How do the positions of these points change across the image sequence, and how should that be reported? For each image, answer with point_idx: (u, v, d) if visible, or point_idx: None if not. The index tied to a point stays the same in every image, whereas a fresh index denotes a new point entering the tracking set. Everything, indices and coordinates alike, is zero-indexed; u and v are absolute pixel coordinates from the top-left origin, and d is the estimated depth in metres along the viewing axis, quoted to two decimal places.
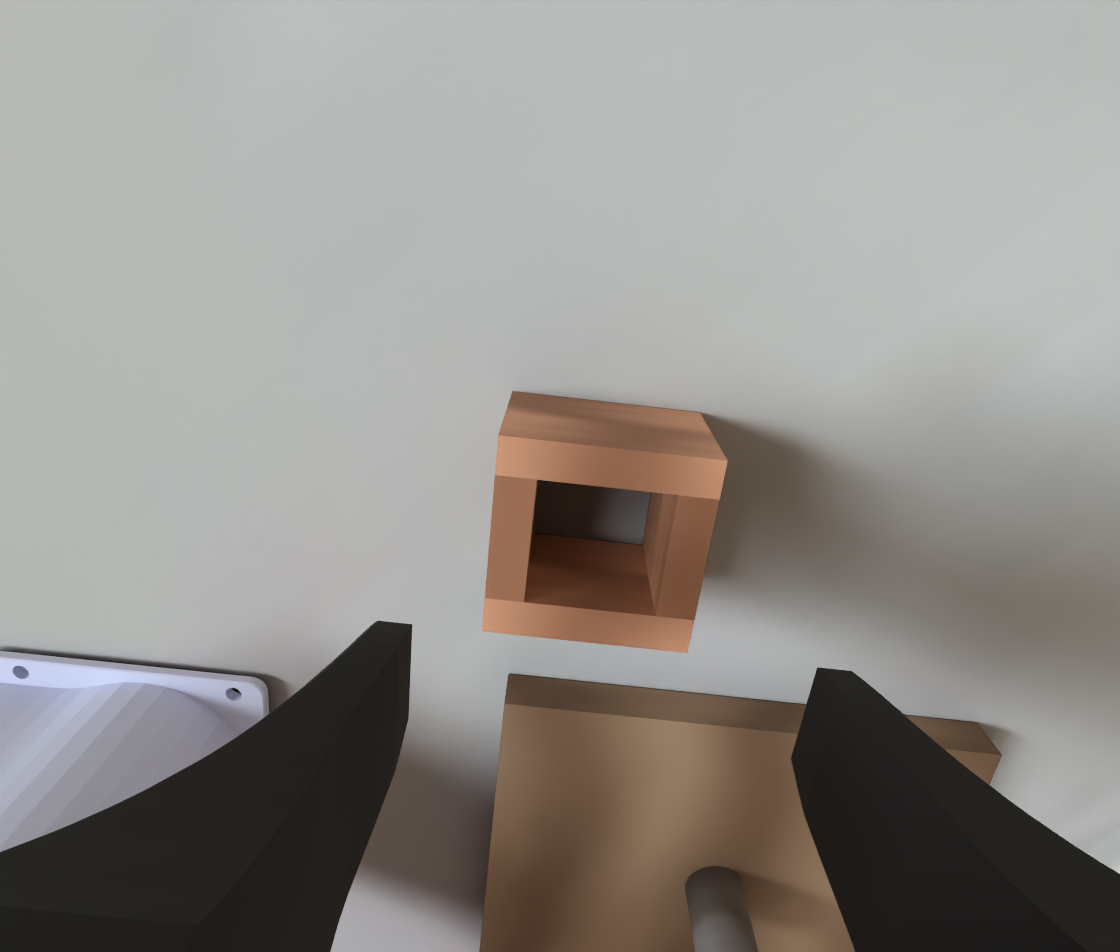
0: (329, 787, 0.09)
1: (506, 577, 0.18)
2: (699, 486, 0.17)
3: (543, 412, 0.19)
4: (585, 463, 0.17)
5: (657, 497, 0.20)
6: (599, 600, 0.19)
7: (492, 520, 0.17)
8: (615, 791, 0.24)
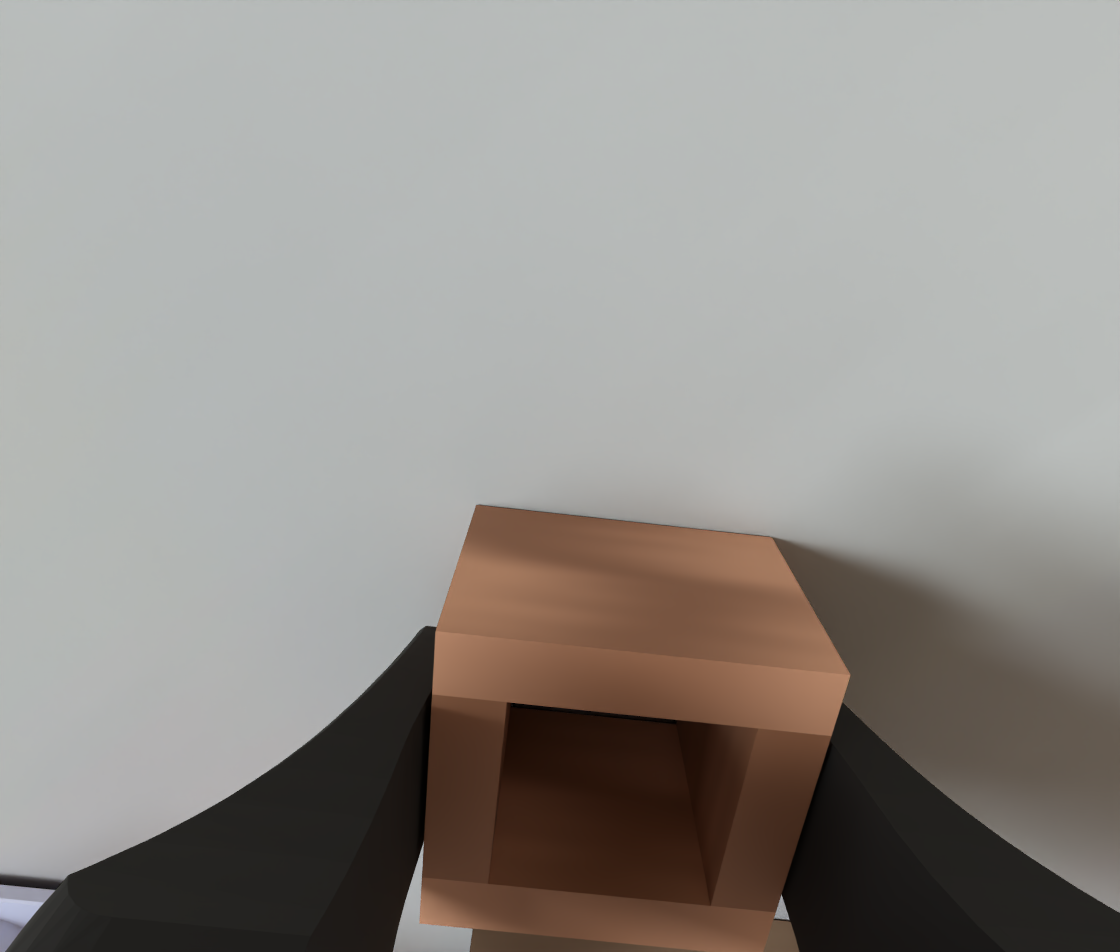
0: (398, 794, 0.09)
1: (457, 849, 0.11)
2: (796, 715, 0.09)
3: (522, 556, 0.11)
4: (593, 677, 0.09)
5: None
6: (615, 868, 0.11)
7: (430, 763, 0.10)
8: None
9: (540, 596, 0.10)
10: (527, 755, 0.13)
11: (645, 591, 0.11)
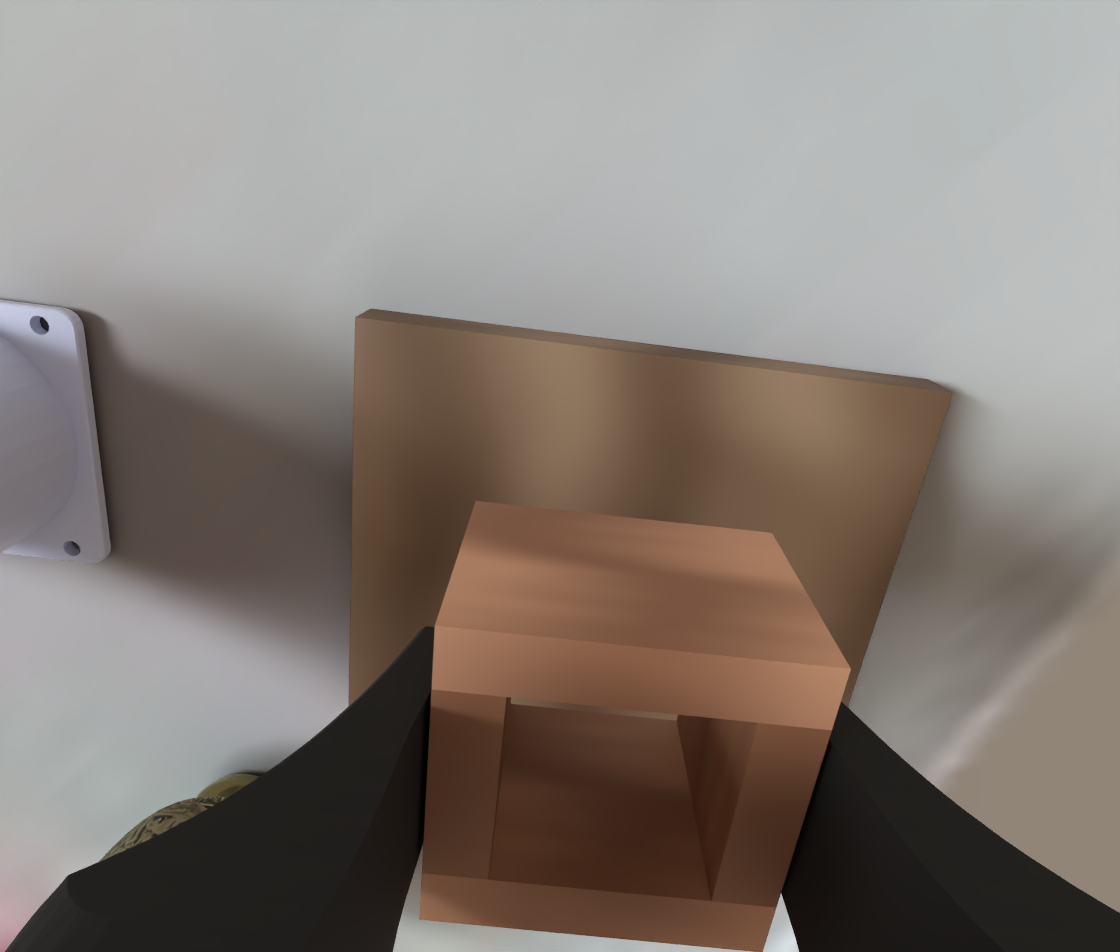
0: (398, 794, 0.09)
1: (457, 844, 0.10)
2: (797, 709, 0.09)
3: (521, 551, 0.11)
4: (592, 672, 0.09)
5: None
6: (615, 863, 0.11)
7: (429, 759, 0.10)
8: (495, 447, 0.20)
9: (539, 591, 0.10)
10: (527, 751, 0.13)
11: (645, 586, 0.11)
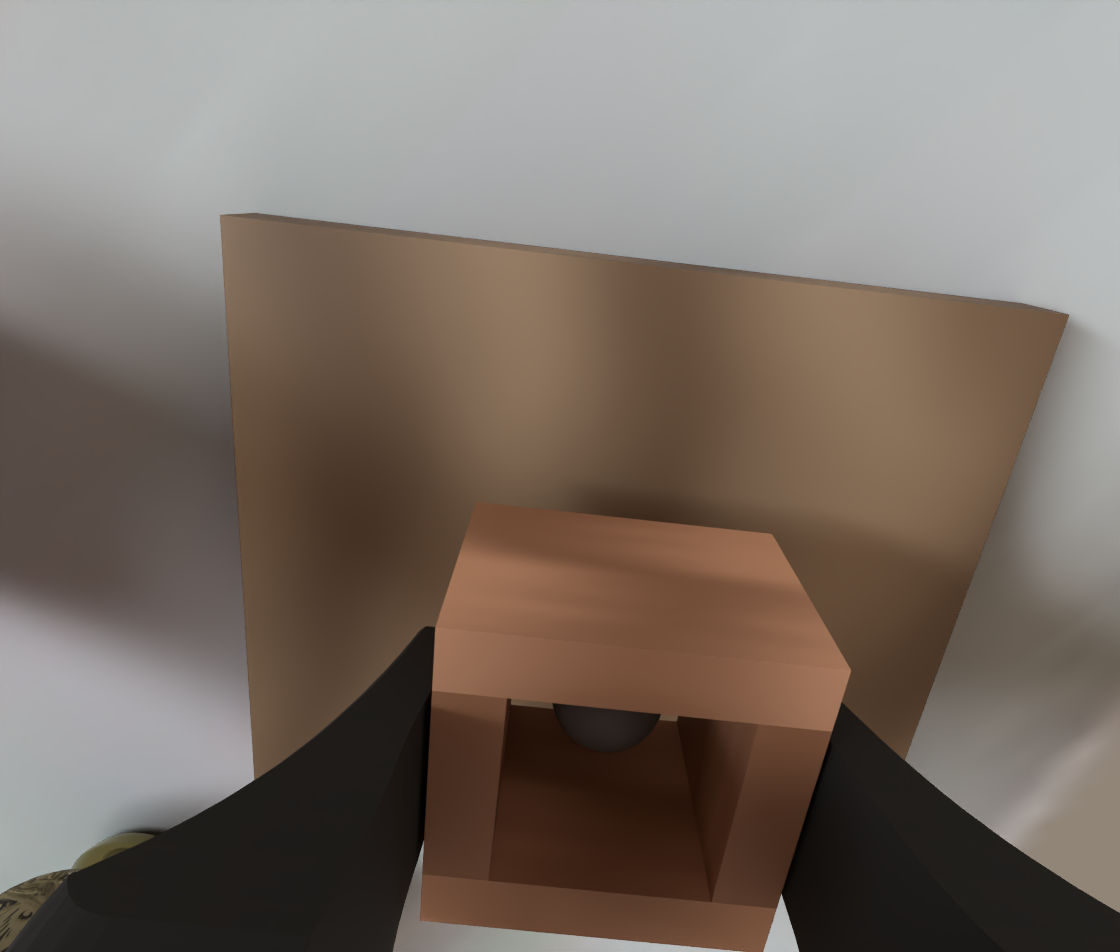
0: (397, 794, 0.09)
1: (458, 845, 0.10)
2: (797, 710, 0.09)
3: (522, 552, 0.11)
4: (592, 673, 0.09)
5: None
6: (615, 864, 0.11)
7: (430, 760, 0.10)
8: (427, 401, 0.14)
9: (540, 592, 0.10)
10: (527, 752, 0.13)
11: (645, 587, 0.11)
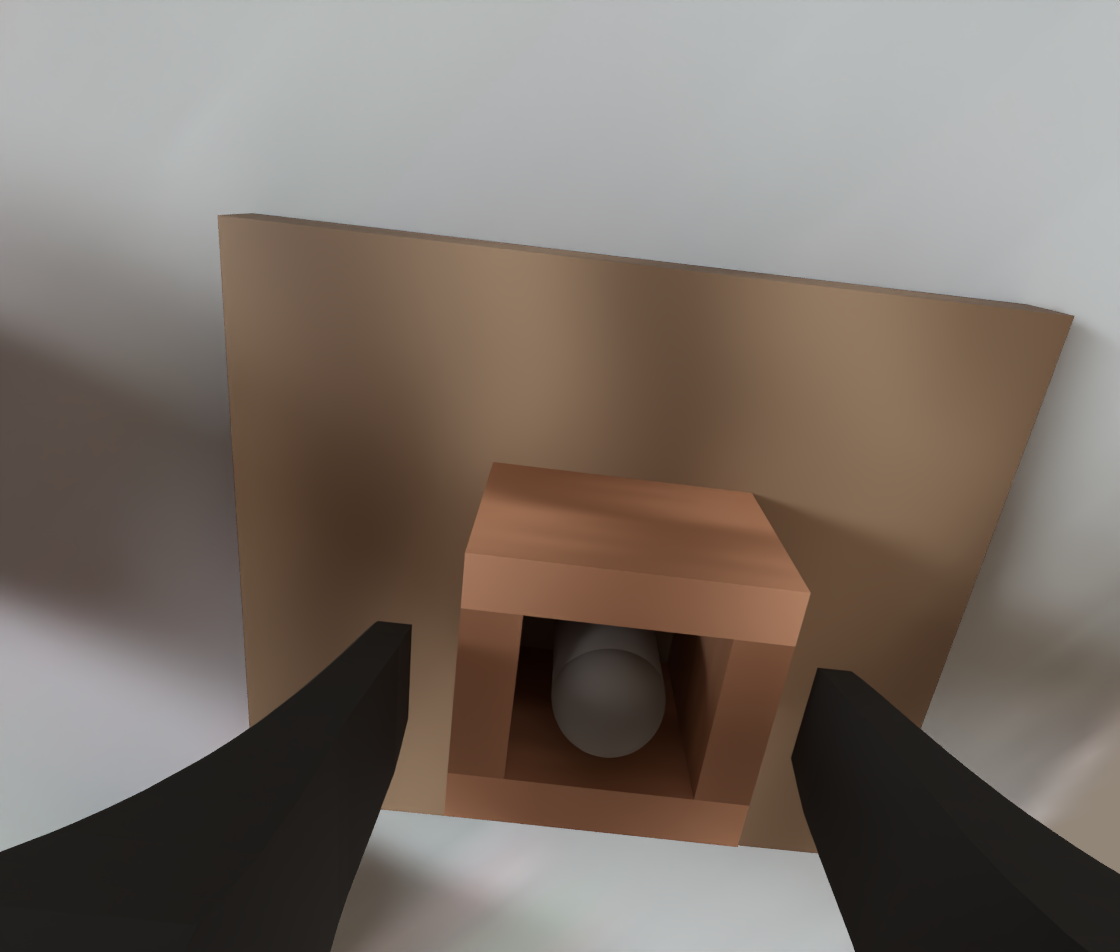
0: (329, 787, 0.09)
1: (478, 746, 0.12)
2: (766, 627, 0.11)
3: (535, 501, 0.13)
4: (596, 594, 0.11)
5: None
6: (612, 770, 0.13)
7: (457, 670, 0.12)
8: (426, 403, 0.14)
9: (551, 530, 0.12)
10: (535, 683, 0.15)
11: (640, 529, 0.12)
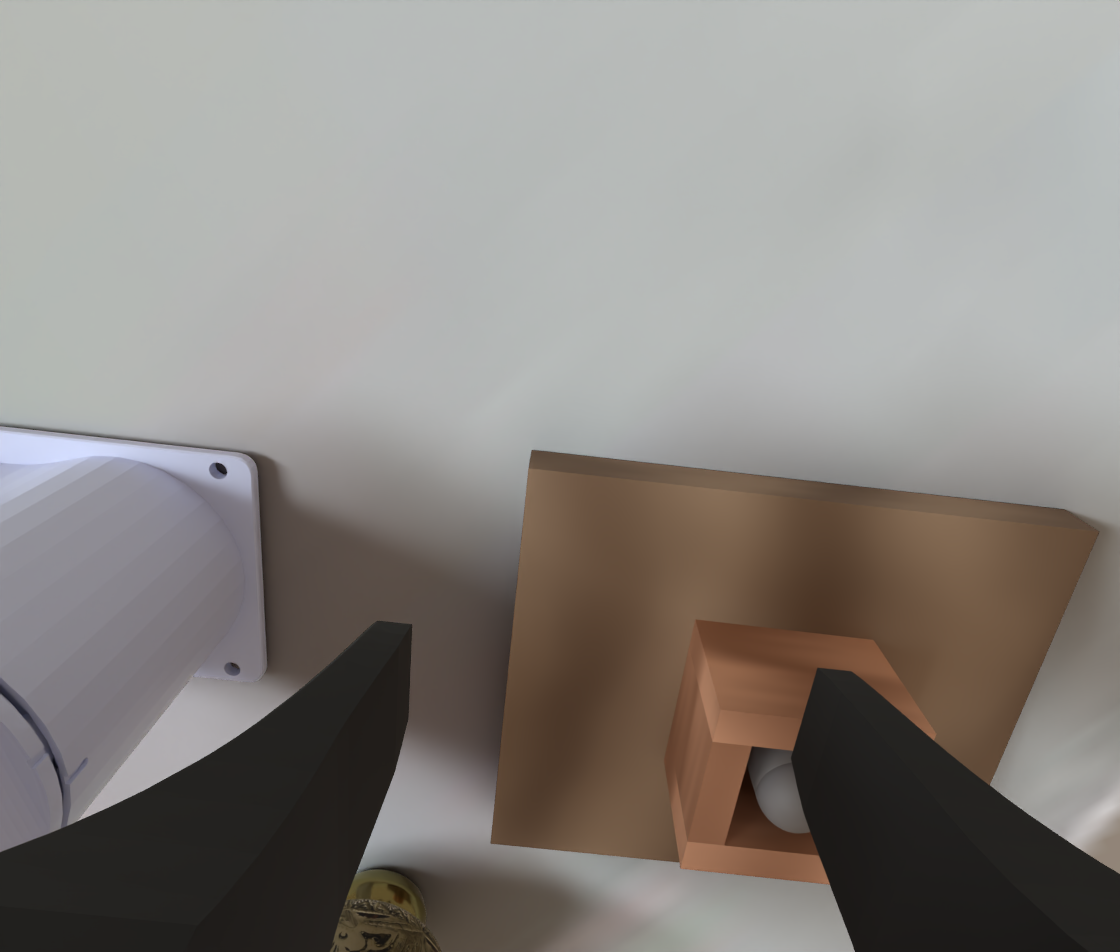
0: (329, 787, 0.09)
1: (710, 825, 0.19)
2: None
3: (739, 658, 0.20)
4: None
5: None
6: (791, 837, 0.20)
7: (704, 778, 0.18)
8: (653, 582, 0.21)
9: (762, 686, 0.19)
10: None
11: None
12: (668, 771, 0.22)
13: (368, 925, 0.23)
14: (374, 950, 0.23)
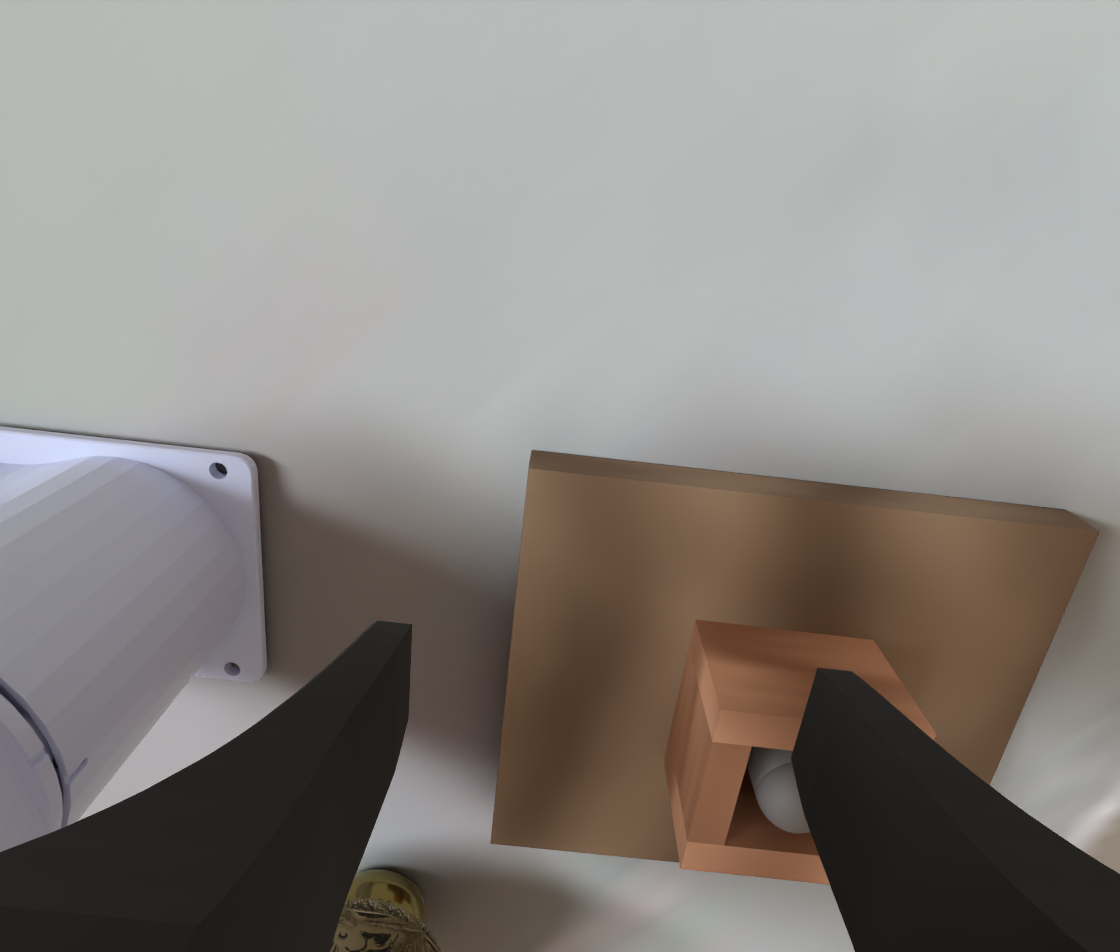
0: (329, 787, 0.09)
1: (710, 825, 0.19)
2: None
3: (739, 658, 0.20)
4: None
5: None
6: (791, 838, 0.20)
7: (704, 778, 0.18)
8: (653, 582, 0.21)
9: (762, 686, 0.19)
10: None
11: None
12: (668, 771, 0.22)
13: (368, 924, 0.23)
14: (374, 950, 0.23)
